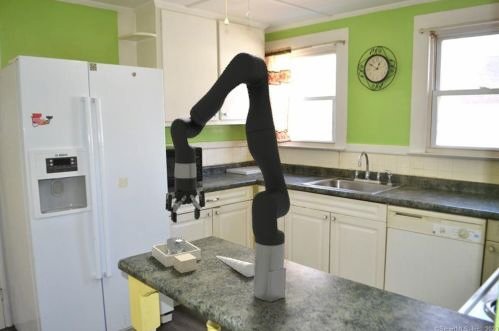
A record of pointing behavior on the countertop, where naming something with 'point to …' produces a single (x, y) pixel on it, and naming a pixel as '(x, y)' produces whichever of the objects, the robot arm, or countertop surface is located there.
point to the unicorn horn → (239, 266)
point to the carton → (185, 263)
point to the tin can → (175, 245)
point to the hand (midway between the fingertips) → (185, 220)
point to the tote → (161, 254)
